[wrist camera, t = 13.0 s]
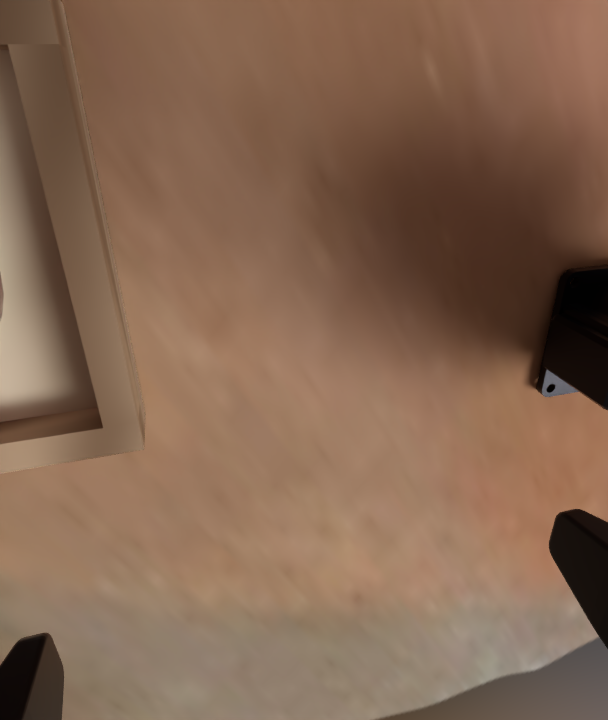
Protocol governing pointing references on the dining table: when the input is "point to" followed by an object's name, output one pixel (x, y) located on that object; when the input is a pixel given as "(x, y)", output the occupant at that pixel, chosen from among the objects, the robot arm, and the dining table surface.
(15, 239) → the birch tray
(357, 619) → the dining table surface
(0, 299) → the soda can
